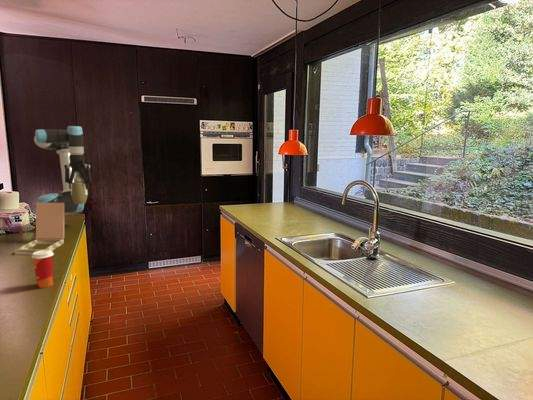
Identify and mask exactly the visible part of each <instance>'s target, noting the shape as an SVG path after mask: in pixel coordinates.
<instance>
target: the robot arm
mask: <svg viewBox="0 0 533 400" xmlns="http://www.w3.org/2000/svg"><path fill="white" fill-rule="evenodd" d="M83 134H84V132H83V128H82V126H79V125H68V126H67V127H66V129H43V128H42V129H36V130H35V131H34V135H35V136H34V137H33V142H34V144H35V145H36V146H37V147H39V148H41V149H45V150H53V151H54V150H56V151H55V152H56V154H58V155H59V163H60V170H61V172H60V173H61V180H62V187H63V188H62V189H63V191H61V193H60V195H59V194H58V193H56V192H55V193H48V194H43V195H40V196H38V197H37V202H36V203H64V214H69V213H70V214H71V213H80V212H83V210H84V209H85V203H84V204H74V202H73V199H72V183H73V182H74V178H76V174H77V172H79V174H80V176H81V178H83V182H84V183H85V184H84V192H85V195H87V196H88V195H89V194H88V190H89V188H90V186H89V184H90V183H92V181H93V179H92V174H91V167H92V166H91V165H90V164H86V163H85V148H84V136H83ZM85 170H86V171H85Z"/></svg>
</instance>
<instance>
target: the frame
mask: <svg viewBox="0 0 533 400" xmlns="http://www.w3.org/2000/svg"><path fill="white" fill-rule="evenodd" d="M64 239H65V238H63V239H36V238H35V239H34V240H32V241H30V242H28V243H26V244H24V245H22V246H20V247H18V248H16V249H14V255H15V256H23V255H24V256H27V255H28V256H29V255H30V256H32V255H33V253H34V252H36V251H41V250H44V251H45V250H48V251H49V250H51V251H52V252H53V251H54V250H56V249H58V248H59V247H61V246H62V245H64V244H65V242H64ZM36 245H49V246H48V247H46V248H44V249H43V248H42V249H37V248H36V249H31V248H33V247H34V246H36Z"/></svg>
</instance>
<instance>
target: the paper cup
mask: <svg viewBox="0 0 533 400" xmlns="http://www.w3.org/2000/svg"><path fill="white" fill-rule="evenodd" d="M54 255H55V253H54V252H53V250H52V251H51V250H49V251H48V250H45V251H44V250H41V251H36V252H34V253H33V255H31V259H32V262H33V263H32V264H33V269H34V273H35V275H34V276H35V279H36V285H37V288H39V289H46V288H50V287H51V286H53V285H54Z"/></svg>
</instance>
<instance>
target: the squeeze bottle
mask: <svg viewBox="0 0 533 400" xmlns="http://www.w3.org/2000/svg"><path fill="white" fill-rule="evenodd" d="M84 184H85V182H84V180H83V177H82V176H81V173H80V171H76V178H74V182H73V183H72V199H73V202H74V204H84V205H85V204H86V203H87V200H88V195H85V192H84Z"/></svg>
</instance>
